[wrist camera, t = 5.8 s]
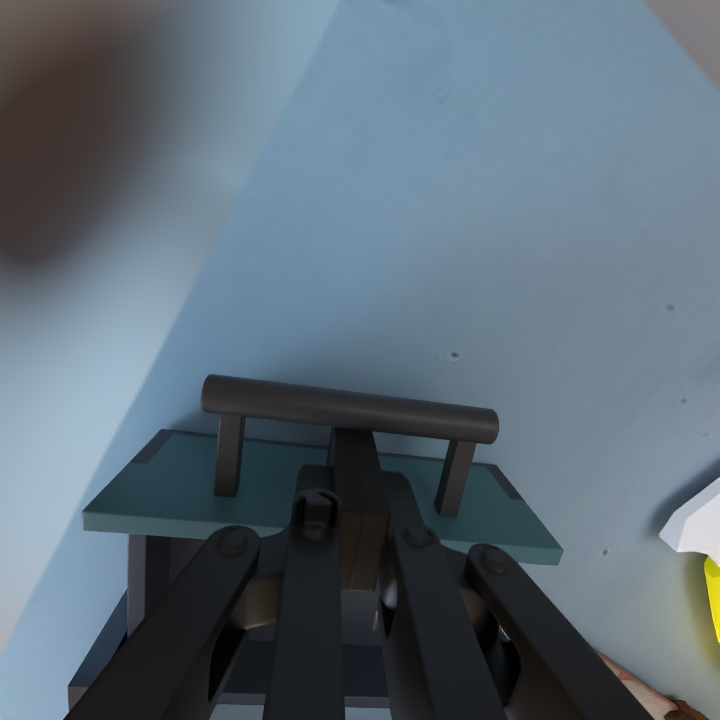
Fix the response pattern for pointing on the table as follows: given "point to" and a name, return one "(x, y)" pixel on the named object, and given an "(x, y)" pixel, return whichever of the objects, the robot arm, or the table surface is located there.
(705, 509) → the spray bottle
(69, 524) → the table surface
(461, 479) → the drawer
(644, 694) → the kitchen knife
